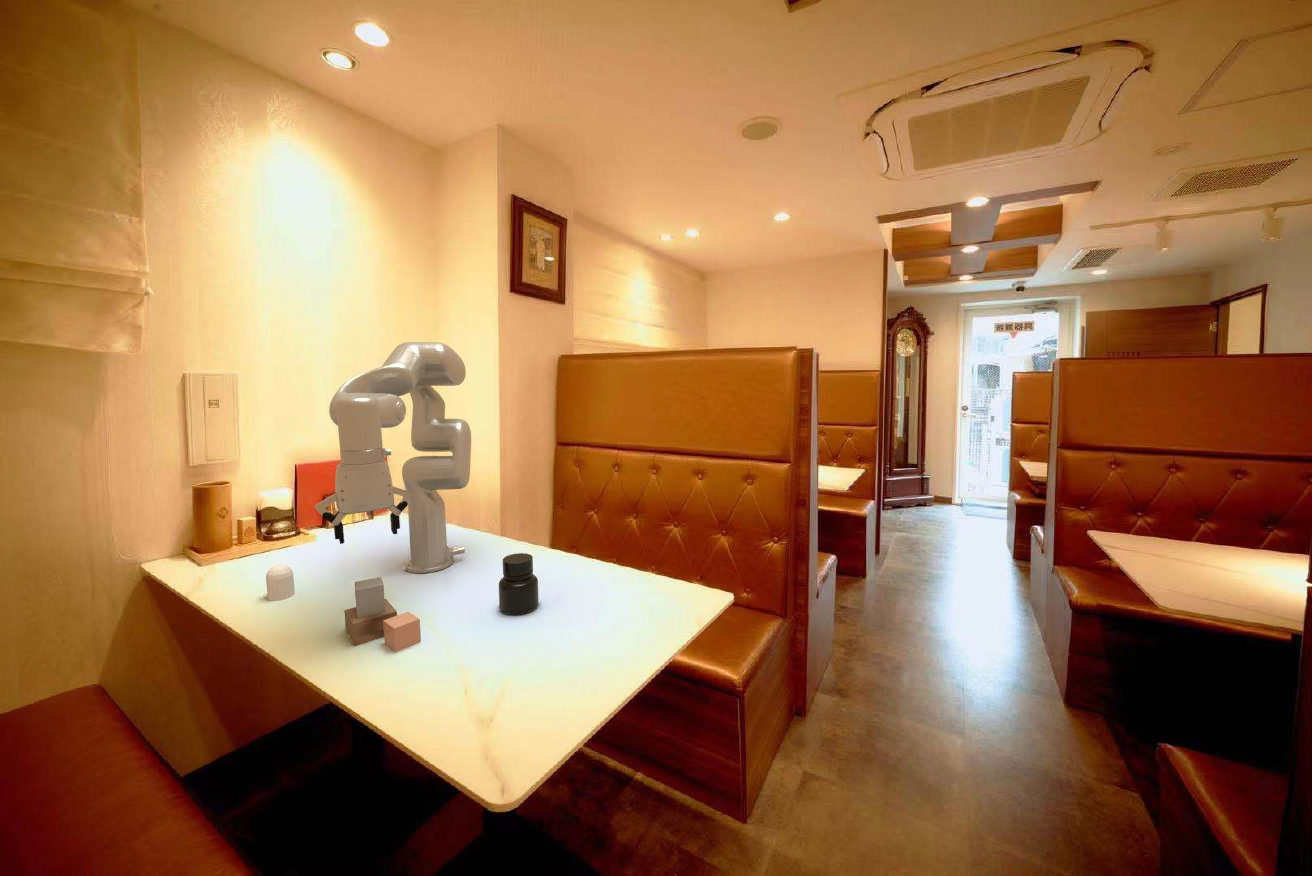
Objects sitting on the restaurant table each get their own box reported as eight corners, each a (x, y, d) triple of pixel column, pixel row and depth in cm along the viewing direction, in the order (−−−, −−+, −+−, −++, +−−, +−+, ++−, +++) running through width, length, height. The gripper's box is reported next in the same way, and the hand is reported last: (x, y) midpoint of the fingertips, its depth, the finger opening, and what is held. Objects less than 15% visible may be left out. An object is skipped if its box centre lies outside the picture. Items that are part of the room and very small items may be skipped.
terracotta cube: (409, 634, 104) (408, 611, 103) (420, 642, 101) (419, 618, 100) (384, 643, 100) (383, 620, 99) (395, 652, 97) (394, 628, 96)
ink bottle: (523, 594, 122) (521, 548, 121) (547, 604, 117) (546, 556, 116) (490, 609, 114) (488, 560, 113) (514, 620, 109) (513, 569, 108)
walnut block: (387, 619, 110) (385, 598, 109) (398, 633, 104) (396, 611, 103) (345, 632, 104) (344, 610, 104) (354, 647, 99) (353, 624, 98)
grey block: (383, 602, 107) (381, 576, 106) (385, 612, 103) (383, 584, 102) (356, 608, 104) (354, 581, 104) (357, 618, 100) (355, 590, 100)
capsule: (280, 601, 118) (277, 570, 117) (262, 599, 119) (258, 568, 118) (300, 592, 123) (297, 561, 122) (282, 590, 124) (279, 560, 123)
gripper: (405, 450, 108) (410, 524, 111) (310, 458, 98) (317, 540, 101) (412, 455, 102) (417, 534, 105) (311, 464, 92) (319, 551, 95)
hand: (368, 537), depth 103 cm, fingers open, 9 cm apart
